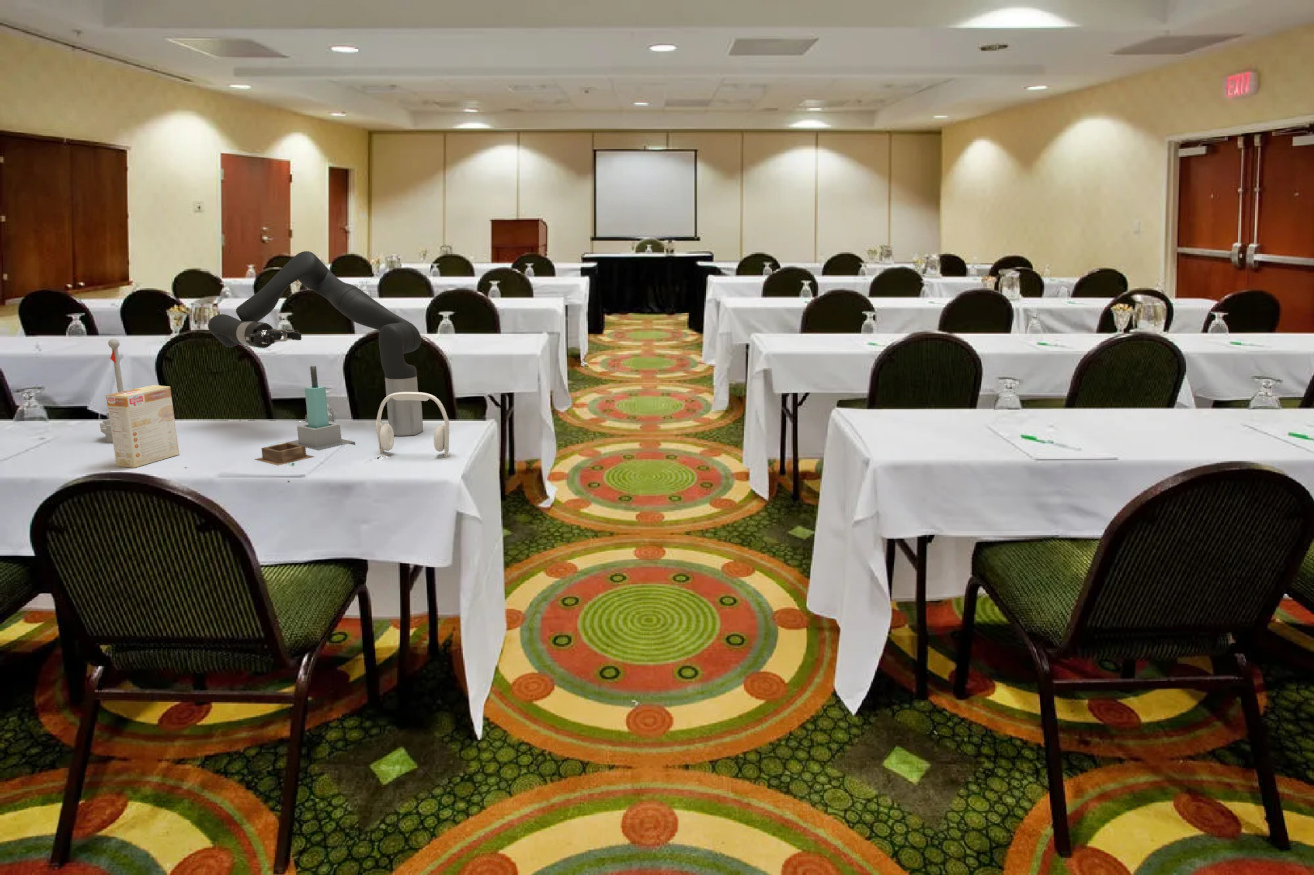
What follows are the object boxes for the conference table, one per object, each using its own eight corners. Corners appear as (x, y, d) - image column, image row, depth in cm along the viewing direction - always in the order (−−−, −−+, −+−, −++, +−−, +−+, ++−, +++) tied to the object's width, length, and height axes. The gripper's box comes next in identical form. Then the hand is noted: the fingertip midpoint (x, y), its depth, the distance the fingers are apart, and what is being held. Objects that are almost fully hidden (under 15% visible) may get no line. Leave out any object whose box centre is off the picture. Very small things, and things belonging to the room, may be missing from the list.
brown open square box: (291, 454, 266) (289, 440, 265) (314, 460, 259) (313, 445, 258) (254, 462, 257) (253, 448, 256) (278, 469, 251) (276, 454, 250)
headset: (454, 452, 266) (450, 389, 262) (446, 459, 259) (442, 394, 255) (383, 452, 267) (378, 389, 263) (374, 458, 260) (369, 394, 256)
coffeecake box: (161, 452, 269) (152, 384, 264) (180, 454, 266) (171, 385, 262) (114, 466, 255) (104, 394, 251) (134, 468, 253) (124, 395, 248)
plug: (321, 439, 278) (314, 364, 273) (330, 441, 275) (323, 366, 270) (309, 442, 275) (302, 366, 269) (318, 444, 272) (311, 368, 267)
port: (321, 437, 285) (320, 418, 283) (355, 445, 275) (353, 424, 274) (285, 445, 275) (283, 425, 274) (319, 453, 266) (317, 432, 264)
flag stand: (109, 434, 291) (95, 336, 284) (156, 432, 294) (143, 334, 287) (96, 444, 279) (80, 342, 272) (145, 441, 282) (131, 340, 275)
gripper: (231, 324, 279) (263, 327, 270) (275, 319, 290) (307, 322, 281) (234, 349, 281) (265, 354, 272) (278, 344, 292) (309, 348, 283)
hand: (286, 338), depth 276 cm, fingers open, 8 cm apart
